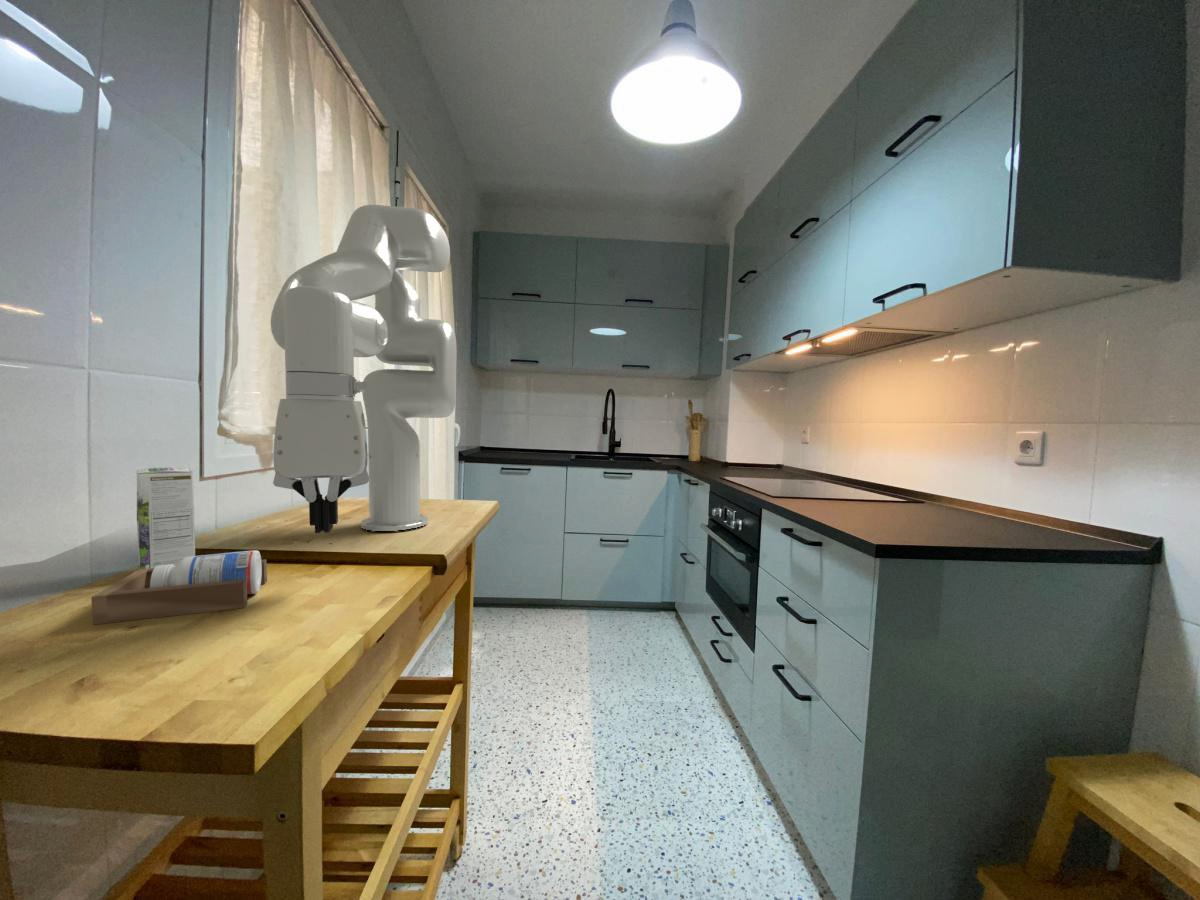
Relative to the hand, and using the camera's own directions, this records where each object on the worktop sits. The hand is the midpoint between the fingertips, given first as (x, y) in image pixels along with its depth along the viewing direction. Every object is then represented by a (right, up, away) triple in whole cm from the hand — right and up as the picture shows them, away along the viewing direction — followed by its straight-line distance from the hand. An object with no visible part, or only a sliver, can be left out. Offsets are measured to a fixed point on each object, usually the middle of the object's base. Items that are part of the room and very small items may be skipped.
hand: (324, 530), depth 61 cm
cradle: (-13, -8, -5) cm, 16 cm away
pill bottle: (-7, -5, -2) cm, 9 cm away
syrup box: (-25, -7, +5) cm, 27 cm away
